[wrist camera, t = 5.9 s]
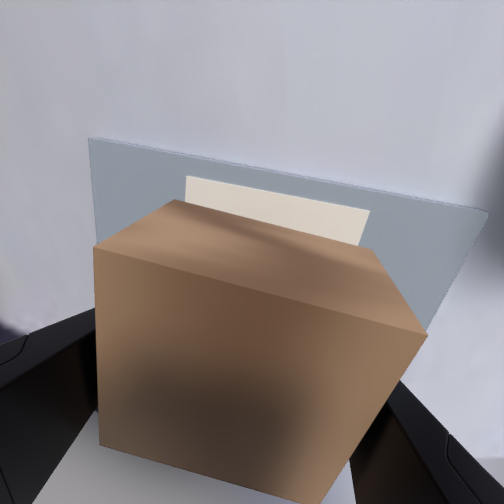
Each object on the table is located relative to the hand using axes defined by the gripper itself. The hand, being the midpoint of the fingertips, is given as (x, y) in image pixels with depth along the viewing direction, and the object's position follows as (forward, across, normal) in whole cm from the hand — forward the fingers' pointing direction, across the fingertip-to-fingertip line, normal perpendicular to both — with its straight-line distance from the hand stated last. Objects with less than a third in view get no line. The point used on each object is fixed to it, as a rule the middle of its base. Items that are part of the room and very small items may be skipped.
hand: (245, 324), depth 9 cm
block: (+1, 0, 0) cm, 1 cm away
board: (+4, 0, 0) cm, 4 cm away
